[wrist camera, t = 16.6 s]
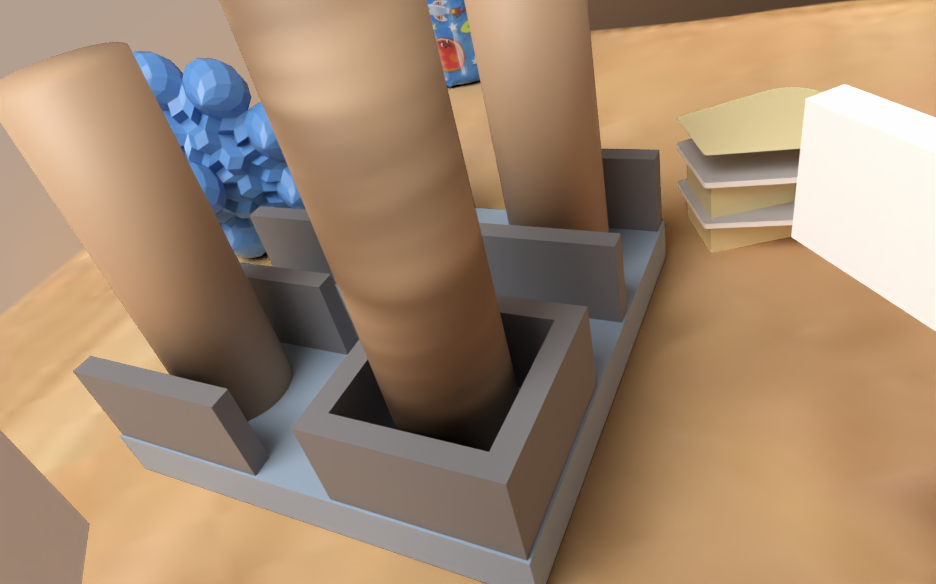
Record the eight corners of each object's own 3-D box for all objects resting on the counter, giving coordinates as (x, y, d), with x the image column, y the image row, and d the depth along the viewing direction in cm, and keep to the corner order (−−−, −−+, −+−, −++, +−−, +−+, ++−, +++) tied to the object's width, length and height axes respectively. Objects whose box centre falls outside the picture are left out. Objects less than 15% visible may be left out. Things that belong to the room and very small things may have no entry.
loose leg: (545, 407, 23) (432, -142, 13) (500, 506, 20) (318, -90, 11) (441, 386, 25) (276, -111, 15) (387, 475, 22) (144, -59, 12)
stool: (665, 256, 31) (653, -115, 22) (539, 601, 20) (407, 132, 11) (361, 229, 39) (259, -55, 30) (145, 467, 27) (-128, 126, 18)
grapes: (133, 311, 37) (-5, 104, 30) (190, 239, 42) (84, 48, 35) (330, 296, 34) (231, 64, 27) (365, 222, 39) (290, 10, 32)
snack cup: (378, 69, 60) (342, -55, 54) (482, 31, 62) (459, -93, 56) (450, 121, 48) (413, -31, 42) (576, 71, 50) (559, -80, 44)
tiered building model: (690, 310, 28) (689, 198, 25) (635, 204, 36) (629, 105, 32) (935, 262, 28) (967, 140, 24) (829, 163, 35) (842, 58, 32)
